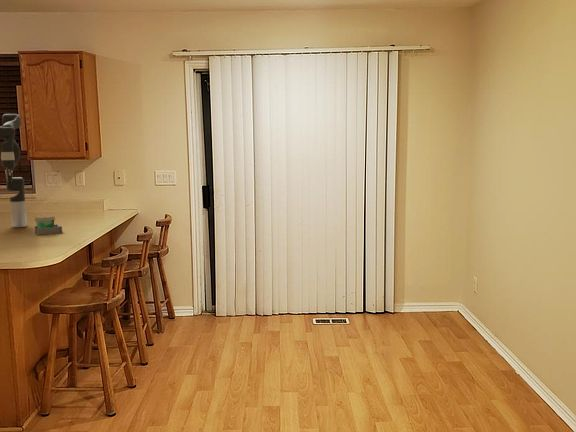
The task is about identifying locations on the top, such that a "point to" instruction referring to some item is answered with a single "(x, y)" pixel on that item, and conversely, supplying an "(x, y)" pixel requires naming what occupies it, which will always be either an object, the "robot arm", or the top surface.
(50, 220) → the food container
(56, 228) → the dock
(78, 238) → the top surface
